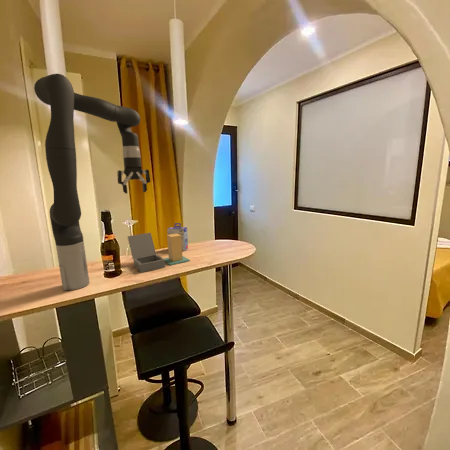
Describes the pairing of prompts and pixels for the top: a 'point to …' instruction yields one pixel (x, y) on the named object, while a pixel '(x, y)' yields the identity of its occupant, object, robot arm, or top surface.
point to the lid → (141, 245)
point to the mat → (176, 261)
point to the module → (174, 247)
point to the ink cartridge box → (182, 232)
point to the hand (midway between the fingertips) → (135, 192)
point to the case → (149, 263)
